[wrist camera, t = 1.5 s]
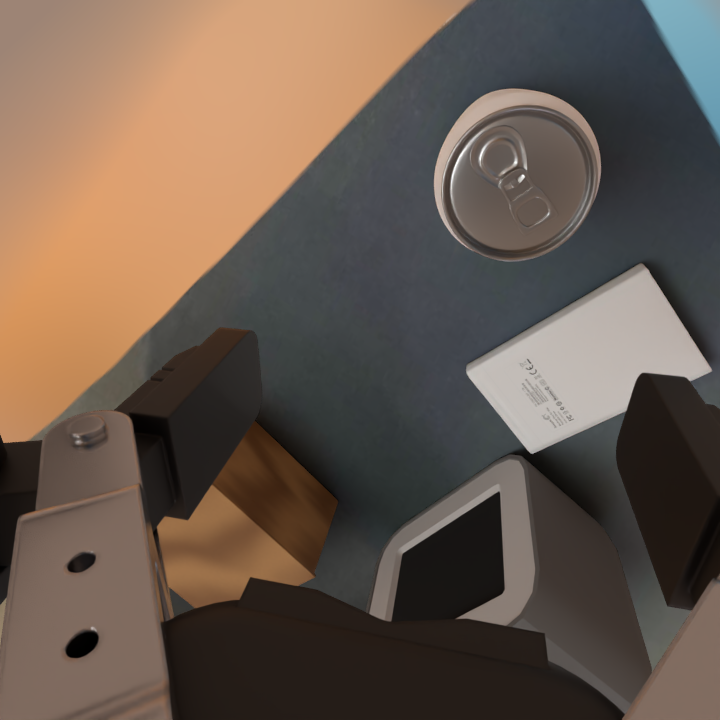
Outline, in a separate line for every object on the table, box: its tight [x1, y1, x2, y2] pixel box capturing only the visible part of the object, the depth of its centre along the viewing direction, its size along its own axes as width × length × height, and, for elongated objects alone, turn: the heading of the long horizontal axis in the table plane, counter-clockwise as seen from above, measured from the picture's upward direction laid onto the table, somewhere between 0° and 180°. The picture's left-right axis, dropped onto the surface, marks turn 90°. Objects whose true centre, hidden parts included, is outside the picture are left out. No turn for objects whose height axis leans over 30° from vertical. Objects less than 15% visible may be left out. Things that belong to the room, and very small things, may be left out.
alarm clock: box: [366, 454, 652, 714], centre depth 36 cm, size 16×11×16 cm
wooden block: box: [157, 421, 338, 608], centre depth 43 cm, size 14×12×8 cm
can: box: [434, 89, 601, 261], centre depth 24 cm, size 6×6×12 cm
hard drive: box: [466, 263, 712, 454], centre depth 34 cm, size 2×8×12 cm
